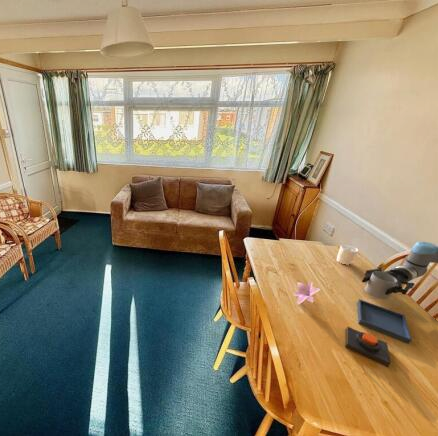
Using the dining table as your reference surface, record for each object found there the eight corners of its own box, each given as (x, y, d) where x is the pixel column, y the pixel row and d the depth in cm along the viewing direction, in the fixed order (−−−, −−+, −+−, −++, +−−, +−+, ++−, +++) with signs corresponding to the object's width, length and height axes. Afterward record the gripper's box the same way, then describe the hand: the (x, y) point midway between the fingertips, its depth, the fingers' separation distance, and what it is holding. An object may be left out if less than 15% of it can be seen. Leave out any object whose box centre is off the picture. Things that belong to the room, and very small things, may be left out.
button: (375, 340, 87) (377, 336, 86) (376, 347, 84) (378, 344, 83) (361, 334, 89) (363, 331, 88) (362, 341, 86) (363, 338, 86)
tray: (402, 319, 100) (404, 315, 99) (408, 344, 89) (411, 339, 88) (357, 302, 109) (358, 299, 108) (358, 323, 98) (360, 319, 97)
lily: (296, 289, 118) (291, 277, 115) (324, 292, 110) (320, 278, 106) (294, 309, 111) (289, 296, 107) (324, 313, 103) (319, 300, 99)
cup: (361, 290, 113) (369, 274, 109) (369, 285, 116) (377, 269, 112) (383, 301, 106) (392, 284, 102) (390, 295, 109) (400, 279, 105)
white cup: (343, 258, 142) (349, 244, 138) (355, 265, 135) (361, 251, 131) (331, 258, 142) (337, 244, 137) (342, 266, 134) (348, 252, 130)
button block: (384, 346, 88) (389, 339, 87) (387, 367, 81) (393, 359, 79) (345, 330, 95) (348, 323, 93) (345, 347, 88) (349, 340, 86)
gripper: (427, 294, 107) (401, 307, 100) (373, 268, 125) (347, 278, 118) (435, 281, 104) (409, 294, 97) (379, 257, 122) (352, 266, 115)
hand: (375, 285), depth 107 cm, fingers closed on cup, 8 cm apart
